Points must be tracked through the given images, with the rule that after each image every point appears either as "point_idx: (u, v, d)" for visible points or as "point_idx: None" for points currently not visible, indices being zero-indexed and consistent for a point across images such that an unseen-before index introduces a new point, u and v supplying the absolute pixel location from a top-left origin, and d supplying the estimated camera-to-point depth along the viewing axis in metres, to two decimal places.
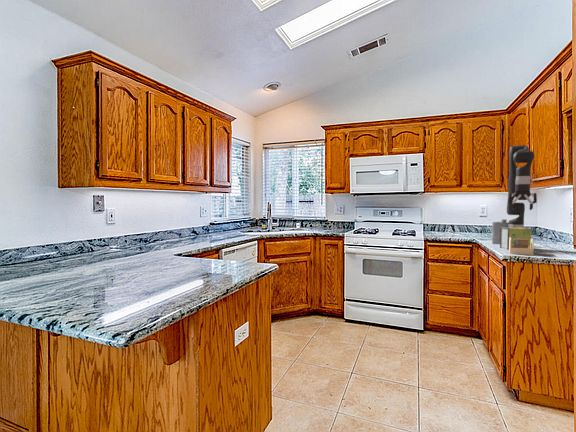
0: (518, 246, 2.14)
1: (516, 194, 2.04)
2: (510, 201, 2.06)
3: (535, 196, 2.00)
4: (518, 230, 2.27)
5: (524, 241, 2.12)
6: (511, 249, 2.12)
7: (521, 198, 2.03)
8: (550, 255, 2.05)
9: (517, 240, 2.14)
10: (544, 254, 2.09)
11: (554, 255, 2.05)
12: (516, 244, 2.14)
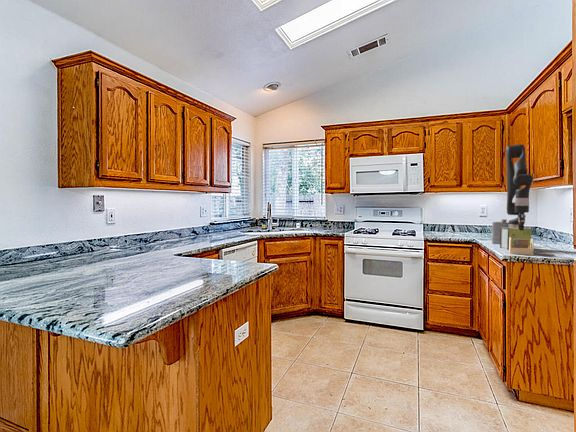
0: (518, 246, 2.14)
1: None
2: (524, 222, 2.08)
3: None
4: (518, 230, 2.27)
5: (524, 241, 2.12)
6: (511, 249, 2.12)
7: None
8: (550, 255, 2.05)
9: (517, 240, 2.14)
10: (544, 254, 2.09)
11: (554, 255, 2.05)
12: (516, 244, 2.14)
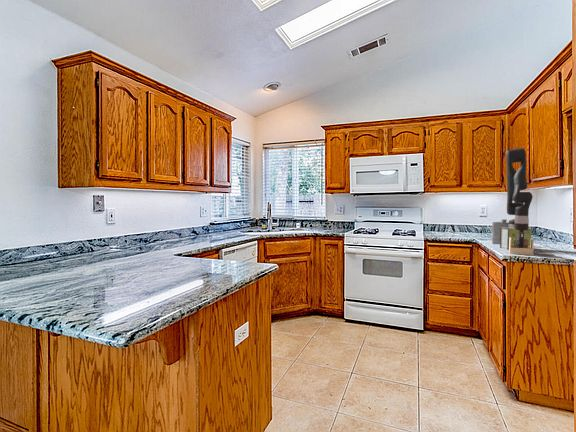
0: (518, 246, 2.14)
1: (523, 233, 2.11)
2: (523, 241, 2.10)
3: None
4: (518, 230, 2.27)
5: (524, 241, 2.12)
6: (511, 249, 2.12)
7: None
8: (550, 255, 2.05)
9: (517, 240, 2.14)
10: (544, 254, 2.09)
11: (554, 255, 2.05)
12: (516, 244, 2.14)
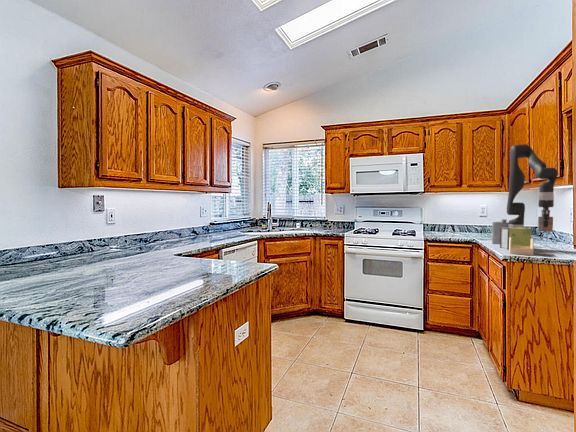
0: (542, 224, 2.06)
1: (548, 210, 2.04)
2: (548, 218, 2.03)
3: None
4: (518, 230, 2.27)
5: (549, 218, 2.05)
6: (511, 249, 2.12)
7: None
8: (550, 255, 2.05)
9: (541, 217, 2.06)
10: (544, 254, 2.09)
11: (554, 255, 2.05)
12: (540, 222, 2.07)
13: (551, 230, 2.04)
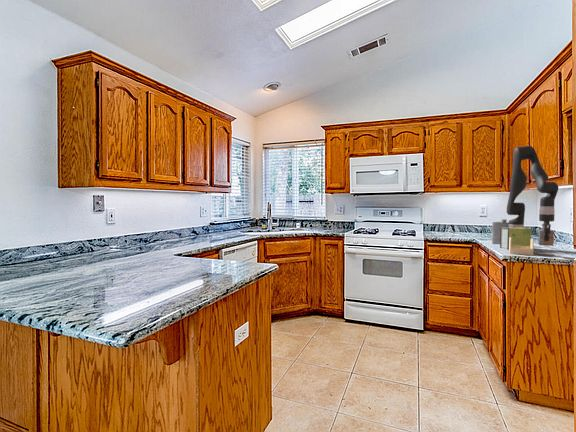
0: (543, 238, 2.07)
1: (549, 224, 2.04)
2: (549, 232, 2.03)
3: None
4: (518, 230, 2.27)
5: (550, 233, 2.05)
6: (511, 249, 2.12)
7: None
8: (550, 255, 2.05)
9: (542, 232, 2.07)
10: (544, 254, 2.09)
11: (554, 255, 2.05)
12: (541, 236, 2.07)
13: (552, 244, 2.04)
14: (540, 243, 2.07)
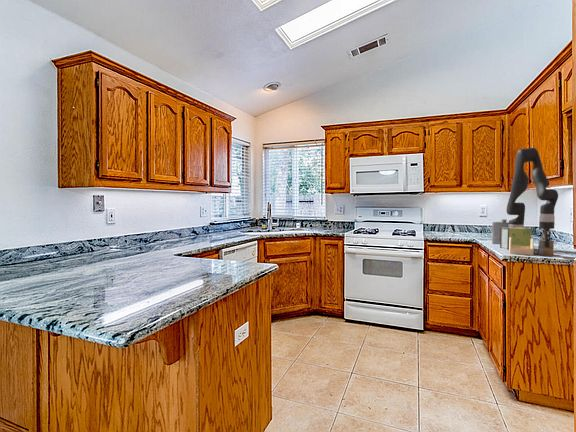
0: (543, 247, 2.07)
1: None
2: None
3: None
4: (518, 230, 2.27)
5: (549, 242, 2.05)
6: (511, 249, 2.12)
7: None
8: (550, 255, 2.05)
9: (542, 241, 2.07)
10: None
11: (554, 255, 2.05)
12: (541, 245, 2.07)
13: (552, 254, 2.05)
14: (540, 253, 2.08)
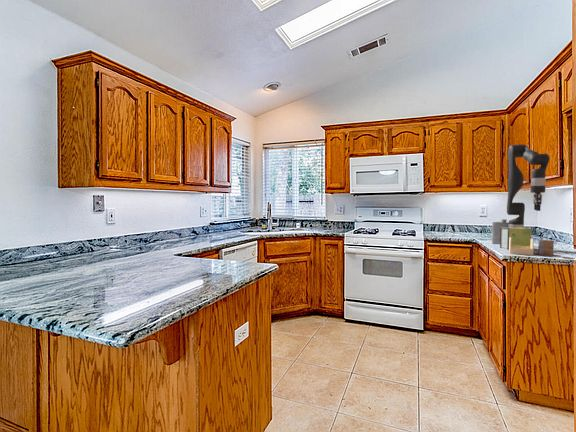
0: (543, 247, 2.07)
1: None
2: None
3: None
4: (518, 230, 2.27)
5: (549, 242, 2.05)
6: (511, 249, 2.12)
7: None
8: (550, 255, 2.05)
9: (542, 241, 2.07)
10: None
11: (554, 255, 2.05)
12: (541, 245, 2.07)
13: (552, 254, 2.05)
14: (540, 253, 2.08)
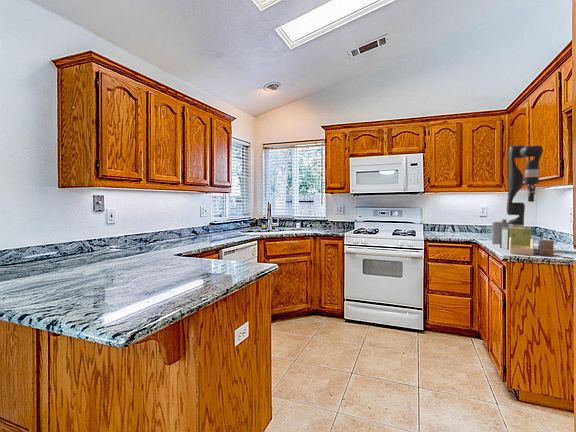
0: (543, 247, 2.07)
1: None
2: (534, 193, 2.09)
3: None
4: (518, 230, 2.27)
5: (549, 242, 2.05)
6: (511, 249, 2.12)
7: None
8: (550, 255, 2.05)
9: (542, 241, 2.07)
10: None
11: (554, 255, 2.05)
12: (541, 245, 2.07)
13: (552, 254, 2.05)
14: (540, 253, 2.08)
